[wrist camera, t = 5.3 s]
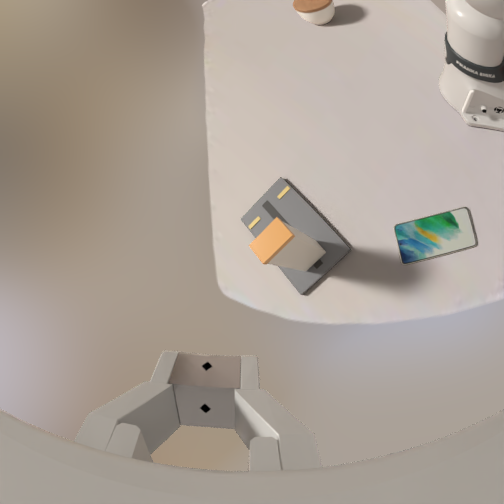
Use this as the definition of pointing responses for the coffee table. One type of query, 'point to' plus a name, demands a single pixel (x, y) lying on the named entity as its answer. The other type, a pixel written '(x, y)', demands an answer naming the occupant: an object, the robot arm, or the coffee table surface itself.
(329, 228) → the board
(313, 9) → the lidded jar
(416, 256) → the smartphone
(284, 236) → the fader tab
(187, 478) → the robot arm
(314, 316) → the coffee table surface
